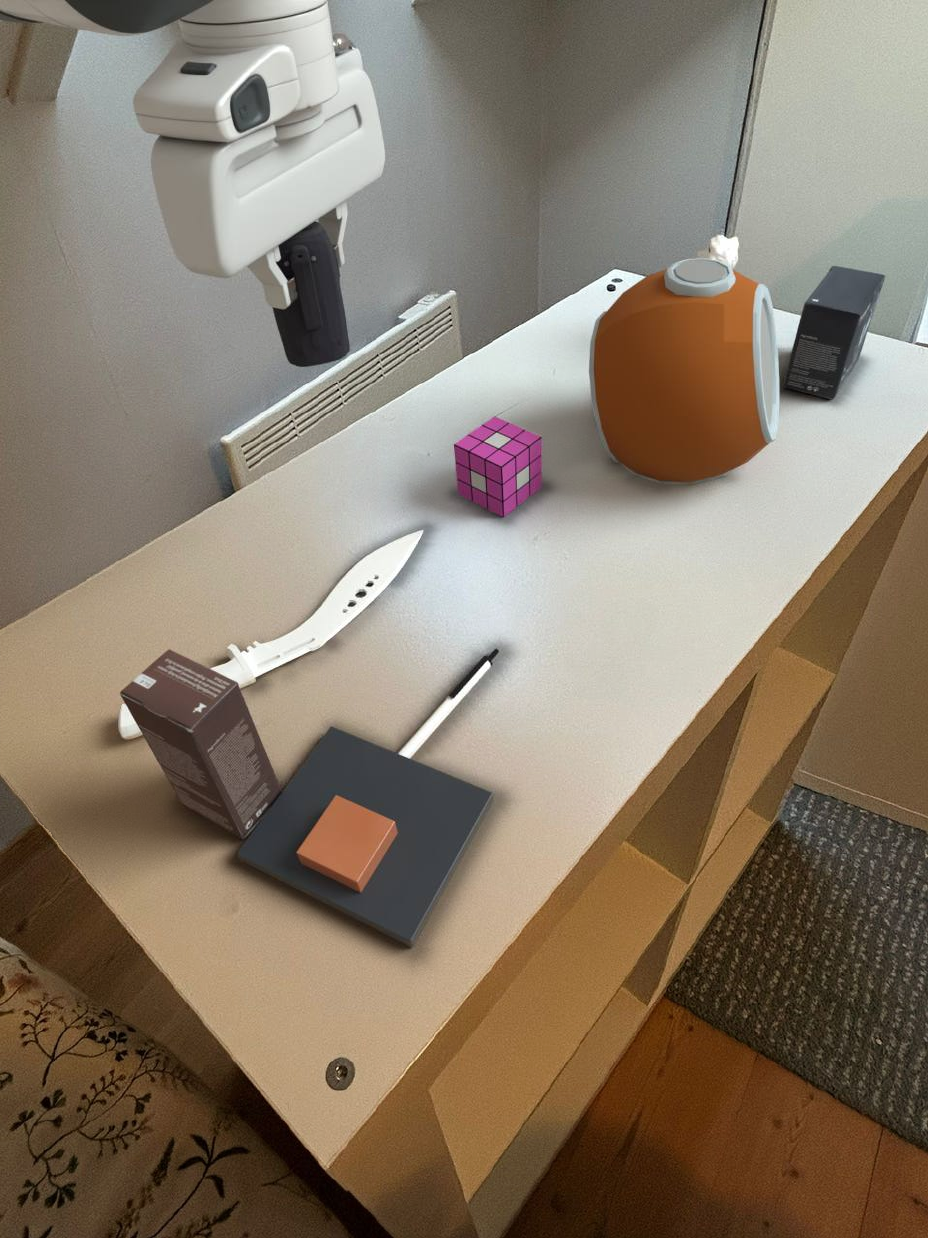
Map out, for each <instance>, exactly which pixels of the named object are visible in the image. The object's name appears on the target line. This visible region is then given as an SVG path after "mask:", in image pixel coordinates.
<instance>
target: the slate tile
mask: <svg viewBox="0 0 928 1238" xmlns="http://www.w3.org/2000/svg"><path fill="white" fill-rule="evenodd" d="M397 753H398V752H395V751H392V750H391V749H388V748H385V747H383V746H380V745H378V744H376V743H373V742H371V741H368V740H366V739H363V738H362V737H358V736H356V735H354V734H352V733H349V732H347V731H344V730H342V729H339V728H337V727H334V726H332V725H331V726H330V727H329V728H328V729H327V731H326V732H325V733H324V735H323V736H322V737H321V739H320V740H319V741H318V743H317V744H316V745H315V747H314V748H313V749H312V751H311V752H310V754H308V756H307V758H306V759H305V760H304V761H303V763H302V764H301V765H300V767H299V768H298V770H297V771H296V773H294V775H293V777H292V778H291V779H290V781H289V782H288V783H287V785H286V786H285V787H284V789H283V790H282V793H281V794H280V795H279V797H278V798H277V799H276V801H275V802H274V803H273V805H272V806H271V808H270V809H269V810H268V812H267V813H266V814H265V816H264V817H263V818H262V820H261V821H260V822H259V823H258V824H257V826H256V827H255V828H254V829H253V831H252V832H251V833H250V834H249V835H248V836H247V838H246V839H245V841H244V842H243V844H242V845H241V846H240V848H239V849H238V851H236V856H237V857H238V859H239V861H240V862H242V863H244V864H246V865H248V866H249V867H252V868H253V869H255V870H258V871H260V872H261V873H263V874H266V875H268V876H269V877H272V878H274V879H276V880H277V881H279V882H282V883H283V884H285V885H287V886H289V887H291V888H294V889H295V890H297V891H299V892H301V893H303V894H305V895H307V896H309V897H311V898H313V899H315V900H317V901H318V902H321V903H323V904H324V905H326V906H328V907H331V908H332V909H334V910H336V911H338V912H341V913H342V914H344V915H346V916H348V917H351V918H352V919H354V920H356V921H358V922H360V923H361V924H364V925H366V926H368V927H370V928H372V929H374V930H376V931H378V932H379V933H382V934H384V935H386V936H387V937H390V938H392V939H394V940H395V941H397V942H399V943H401V944H404V945H406V946H407V947H409V948H411V949H413V948H414V947H415V945H416V943H417V941H418V939H419V938H420V936H421V934H422V932H423V930H424V928H425V927H426V926H427V924H428V921H429V919H430V917H431V916H432V914H433V912H434V910H435V908H436V907H437V905H438V903H439V901H440V900H441V897H442V896H443V893H444V892H445V891H446V888H447V886H449V885H448V884H449V883H450V881H451V879H452V877H453V876H454V874H455V872H456V870H457V868H458V866H459V864H460V863H461V861H462V859H463V857H464V856H465V853H466V852H467V850H468V848H469V847H470V844H471V843H472V842H473V839H474V837H475V836H476V833H477V832H478V830H479V829H480V826H481V824H482V823H483V822H484V819H485V818H486V815H487V814H488V812H489V810H490V808H491V807H492V805H493V803H494V793H493V792H492V791H490V790H487V789H484V788H482V787H479V786H477V785H475V784H472V783H470V782H468V781H465V780H462V779H461V778H457V777H455V776H453V775H450V774H448V773H446V772H443V771H441V770H438V769H436V768H433V767H431V766H429V765H426V764H424V763H421V762H419V761H416V760H414V759H412V758H410V759H409V758H407V757H405V756H402V755H400V754H397ZM336 795H337V796H339V797H342V798H344V799H346V800H348V801H351V802H353V803H355V804H357V805H359V806H362V807H364V808H366V809H368V810H371V811H373V812H375V813H377V814H380V815H382V816H384V817H386V818H388V819H391V820H393V821H395V823H396V827H397V831H398V834H397V835H396V837H395V838H394V840H393V842H392V843H391V845H390V846H389V848H388V850H387V851H386V853H385V855H384V856H383V858H382V859H381V861H380V863H379V864H378V866H377V868H376V869H375V871H374V872H373V874H372V876H371V877H370V879H369V881H368V882H367V884H366V885H365V887H364V889H363V890H362V892H361V893H360V892H358V891H356V890H354V889H352V888H350V887H348V886H346V885H344V884H342V883H340V882H338V881H336V880H334V879H332V878H329V877H327V876H325V875H323V874H321V873H319V872H317V871H315V870H313V869H311V868H309V867H307V866H305V865H303V864H301V862H300V860H299V857H298V855H297V853H296V852H297V851H298V849H299V848H300V846H301V845H302V843H303V842H304V841H305V839H306V838H307V836H308V835H309V833H310V832H311V830H312V829H313V828H314V826H315V825H316V823H317V822H318V820H319V819H320V817H321V816H322V815H323V813H324V812H325V810H326V809H327V807H328V806H329V804H330V803H331V802H332V800H333V799H334V797H335V796H336Z"/></svg>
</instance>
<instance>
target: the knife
mask: <svg viewBox="0 0 928 1238" xmlns="http://www.w3.org/2000/svg"><path fill="white" fill-rule="evenodd" d="M424 530H425V529H421V530H418V531H415V532H411V533H410V534H406V535H403V536H402V537H400V538H397V539H395V540H394V541H391V542H389V543H387V544H385V545H383V546H381V547H379V548H377V549H376V550H374V551H372V552H370V553H369V554H367V555H366V556H364V557H363V558H361V559H360V560H359V561H358V562H356V564H355V565H354V566H353V567H351V568H350V570H348V571H347V572H346V573H345V574H344V575H343V577H342V578H341V579H340V580H339V581H338V582H337V584H336V585H335V586H334V587H333V589H332V590H331V591H330V592H329V594H328V595H327V596H326V598H325V599H324V601H323V602H322V604H321V605H320V606H319V607H318V608H317V610H316V611H315V612H314V613H313V614H312V615H311V616H310V617H309V618H308V619H306V620H305V621H304V622H303V623H302V624H301V625H300V626H298V627H296V628H295V629H293V630H292V631H290V632H288V633H287V634H284V635H282V636H280V637H278V638H276V639H273V640H270V641H267V642H263V643H261V642H258V641H257V640H254V641H253V642H252V646H253V647H252V646H251V645H248V646H247V647H246V650H247V651H246V650H243V651H241V650H240V649H239V647H237V646H236V645H235V644H233V643H230V644H229V645H228V646H227V647H226V654H227V656H228V658H229V659H230V660H229V661H227V662H226V663H223V664H219V665H217V666H213V667H209V669H211V670H214V671H216V672H218V673H220V674H222V675H224V676H226V677H227V678H229V679H232V680H234V681H236V682H238V685H239V688H240V690H241V689H243V688H245V687H247V686H250V685H252V684H255V683H256V682H257V680H256V678H257V677H259V676H261V675H263V674H265V673H268V672H269V671H271V670H273V669H275V668H276V669H277V667H280V666H283V665H284V664H286V663H288V662H290V661H293V660H294V659H296V658H298V657H301V656H303V655H305V654H307V653H309V652H314V651H316V650H319V649H321V648H322V647H323V646H324V645H325V644H326V643H327V642H328V641H329V640H331V639H332V638H333V637H334V636H335V635H336V634H338V633H339V632H340V631H341V630H342V629H343V628H344V627H346V626H347V625H348V624H349V623H350V622H352V621H353V620H354V619H355V618H356V617H357V616H358V615H359V614H360V613H362V612H363V610H365V609H366V608H367V607H368V606H369V605H370V604H372V602H373V601H374V600H376V598H377V597H378V596H379V595H381V593H382V592H383V591H384V590H386V588H387V587H388V586H389V585H390V584H391V582H393V580H394V579H395V578H396V577H397V575H398V574H399V572H400V571H401V570H402V568H404V566H405V564H406V563H407V561H408V560H409V558H410V557H411V555H412V553H413V552H414V550H415V548H416V547H417V545H418V544H419V542H420V539H421V537H422V535H423V533H424ZM368 584H373V585H372V586H367V585H368ZM360 592H361V593H362V592H364V593H365V595H364V596H362V597H357V596H356V595H357V594H358V593H360ZM350 603H355V605H354V606H348V605H349V604H350ZM117 720H118V723H117V724H118V725H117V726H118V727H117V728H118V732H119V733H120V737H121V738H122V739H124V740H131V739H135V738H138V737H142V736H143V734H142V732H141V731H140V729H139V727H138V725H137V724H136V722H135V720H134V718H133V717H132V715H131V713H130V711H129V709H128V708H127V706H126V704H125V703H121V705H120V710H119V714H118V719H117Z"/></svg>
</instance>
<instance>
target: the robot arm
mask: <svg viewBox="0 0 928 1238" xmlns="http://www.w3.org/2000/svg"><path fill="white" fill-rule="evenodd" d="M0 20H1V21H4V22H10V23H17V24H47V25H48V24H49V25H53V26H58V27H63V28H67V29H68V28H69V29H74V30H78V31H79V30H80V31H87V32H92V33H97V34H102V35H109V36H117V37H133V36H139V35H144V34H147V33H150V32H153V31H155V30H158V29H161V28H163V27H166V26H168V25H170V24H173V23H174V22H176V21H177V22H178V24H179V29H180V30H179V31H180V33H181V37H179V38H178V39H177V40H176V41H175V42H174V43H173V45H172V46H171V48H170V50H168V52H167V54H166V56H165V57H164V58H163V59H162V61H161V62H160V63H159V65H158V66H157V67H156V68H155V69H154V70H153V72H152V73H151V74H150V75H149V76H148V78H147V79H146V80H145V81H144V82H143V83H142V84H141V85H140V86H139V88H138V89H137V90H136V91H135V93H134V94H133V95H134V96H133V100H132V104H133V105H132V106H133V110H134V114H135V117H136V120H137V122H138V125H139V127H140V128H141V130H142V131H143V132H144V133H147V134H150V135H155V136H158V137H157V138H156V139H155V141H154V144H153V146H152V149H151V155H150V168H151V176H152V180H153V185H154V191H155V193H156V198H157V201H158V206H159V209H160V212H161V217H162V220H163V223H164V227H165V231H166V233H167V237H168V239H169V243H170V245H171V249H172V251H173V253H174V255H175V257H176V259H177V260H178V262H179V263H180V264H181V265H183V267H185V268H186V269H187V270H189V271H190V272H191V273H193V274H194V273H195V274H198V275H202V276H206V277H213V278H220V279H230V278H232V277H234V276H236V275H237V274H238V273H240V272H241V271H242V270H244V269H245V268H247V269H248V270H250V272H251V273H252V274H253V276H255V278H256V280H258V282H259V283H261V284H262V288H263V293H264V297H265V301H266V303H267V304H268V306H269V307H271V308H272V307H274V308H279V309H286V308H287V307H288V306H290V305H291V304H292V303H294V302H295V301H296V300H297V299H298V293H297V291H296V283H295V278H294V277H290V276H284V275H283V273H282V272H281V270H280V269H279V267H278V266H277V264H276V262H278V261H279V260H280V259H281V256H280V251H279V246H278V245H280V244H281V243H283V242H284V241H286V240H287V239H289V238H290V237H292V236H293V235H295V234H296V233H298V232H299V231H301V230H302V229H304V228H305V227H307V226H308V225H310V224H311V223H313V222H314V221H315V222H318V223H320V224H321V225H322V226H323V228H324V229H325V231H326V233H327V234H328V236H329V239H330V241H331V243H332V244H333V246H334V248H335V252H336V256H337V261H338V266H339V269H340V268H342V267H343V266H344V265H345V263H346V261H345V254H344V247H343V242H344V237H345V232H346V227H347V221H348V216H349V213H348V205H347V200H349V199H350V198H352V197H354V196H355V195H357V194H358V193H359V192H361V191H363V190H364V189H365V188H367V187H368V186H370V185H372V184H373V183H375V182H376V181H378V180H379V179H380V178H381V177H382V176H383V173H384V172H383V171H384V168H385V163H386V147H385V142H384V137H383V131H382V125H381V119H380V115H379V109H378V105H377V100H376V95H375V91H374V88H373V84H372V82H371V79H370V77H369V75H368V74H367V72H366V71H365V70H364V67H363V58H362V54H361V51H360V49H359V48H358V47H356V46H355V44H354V42H353V41H352V40H351V39H350V38H348V36H347V35H346V34H345V33H341V32H338V33H334V34H333V31H332V24H331V17H330V10H329V3H328V0H0ZM317 220H318V221H317Z"/></svg>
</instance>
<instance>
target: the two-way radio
mask: <svg viewBox="0 0 928 1238" xmlns="http://www.w3.org/2000/svg"><path fill="white" fill-rule="evenodd" d="M278 246H279V251H280V256H281V259H280V260H279V261H278V262H276V264H277V266H278V267H279V269H280V270H281V272H282V273H283V275H284V276H290V277H294V278H295V283H296V291H297V293H298V299H297V300H296V301H295V302H294V303H292V304H291V305H290V306H288V307H287V308H286V309H279V308H274V307H271V308H272V313H273V316H274V320H275V324H276V326H277V330H278V333H279V336H280V339H281V343H282V346H283V350H284V354H285V357H286V360H287V361H288V363H289V364H290V365H292V366H295V367H299V368H306V367H307V368H309V367H313V366H314V367H315V366H320V365H324V364H329V363H333V362H336V361H337V362H338V361H339V360H341V359H343V358H345V357H346V356H347V354H348V353H349V352H350V351H351V346H350V340H349V339H350V338H349V332H348V325H347V316H346V310H345V304H344V299H343V294H342V288H341V287H342V286H341V273H340V268H339V266H338V261H337V256H336V252H335V248H334V246H333V244H332V243H331V241H330V239H329V236H328V234H327V233H326V231H325V229H324V228H323V226H322V225H321V224H320V223H318V221H314V222H313V223H311V224H310V225H308V226H307V227H305V228H304V229H302V230H301V231H299V232H298V233H296V234H295V235H293V236H292V237H290V238H289V239H287V240H286V241H284V242H283V243H281V244H280V245H278Z"/></svg>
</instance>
